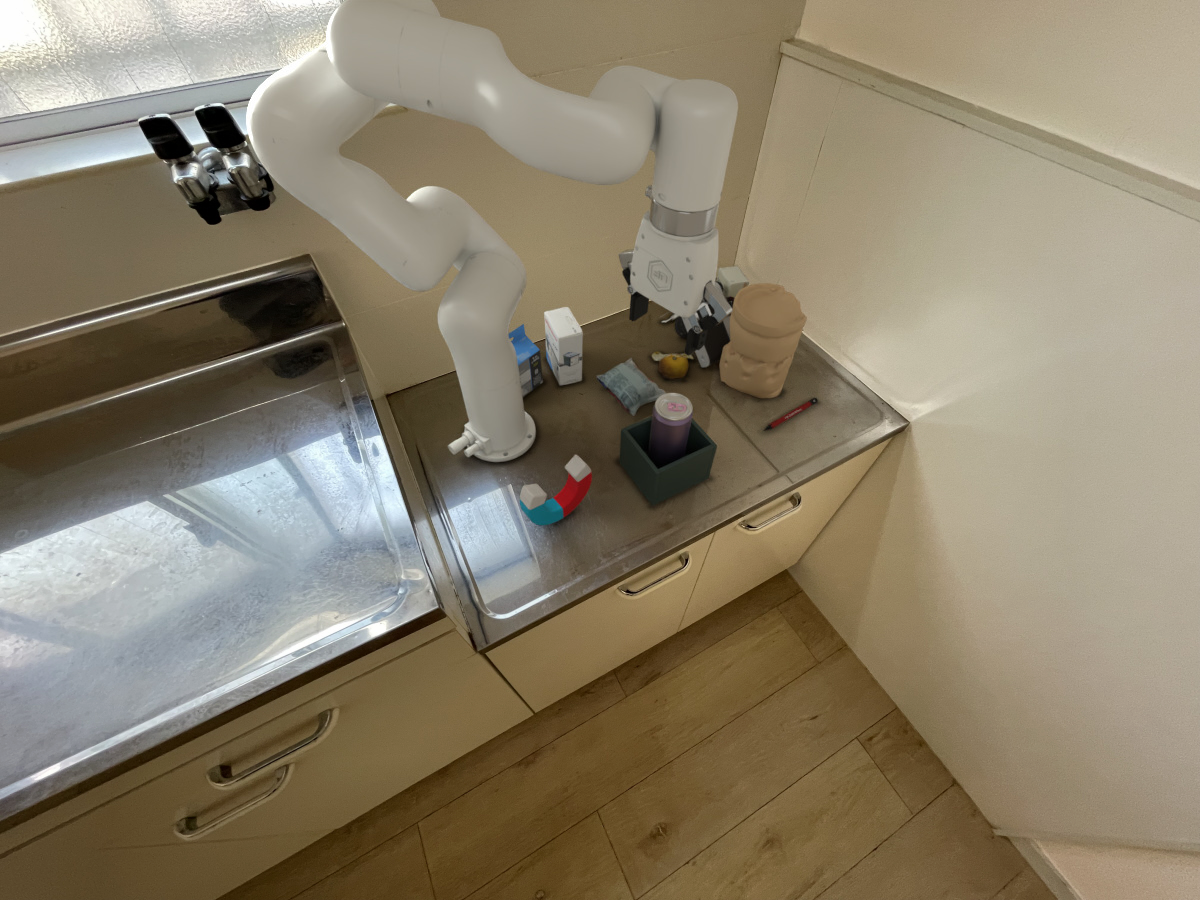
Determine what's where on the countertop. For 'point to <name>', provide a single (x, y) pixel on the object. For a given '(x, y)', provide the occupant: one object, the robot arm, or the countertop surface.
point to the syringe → (671, 318)
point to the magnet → (563, 501)
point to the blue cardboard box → (527, 360)
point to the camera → (708, 334)
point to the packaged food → (630, 386)
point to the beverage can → (669, 429)
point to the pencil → (791, 414)
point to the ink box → (564, 345)
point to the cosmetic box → (732, 280)
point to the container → (761, 339)
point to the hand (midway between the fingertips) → (665, 332)
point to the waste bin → (671, 476)
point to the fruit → (672, 364)
